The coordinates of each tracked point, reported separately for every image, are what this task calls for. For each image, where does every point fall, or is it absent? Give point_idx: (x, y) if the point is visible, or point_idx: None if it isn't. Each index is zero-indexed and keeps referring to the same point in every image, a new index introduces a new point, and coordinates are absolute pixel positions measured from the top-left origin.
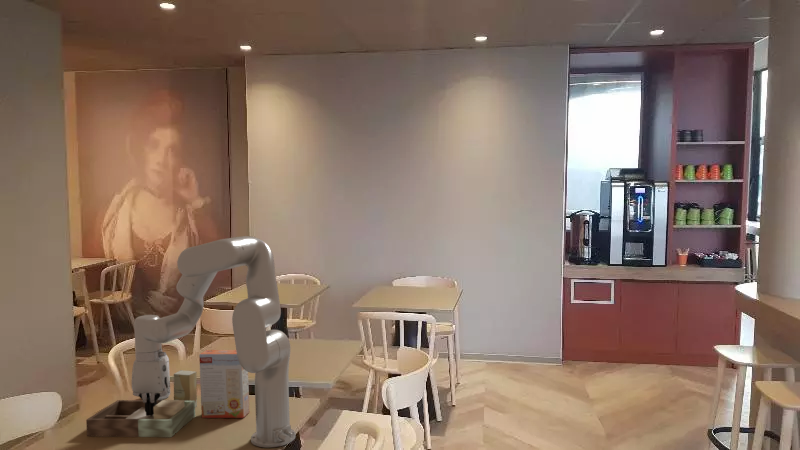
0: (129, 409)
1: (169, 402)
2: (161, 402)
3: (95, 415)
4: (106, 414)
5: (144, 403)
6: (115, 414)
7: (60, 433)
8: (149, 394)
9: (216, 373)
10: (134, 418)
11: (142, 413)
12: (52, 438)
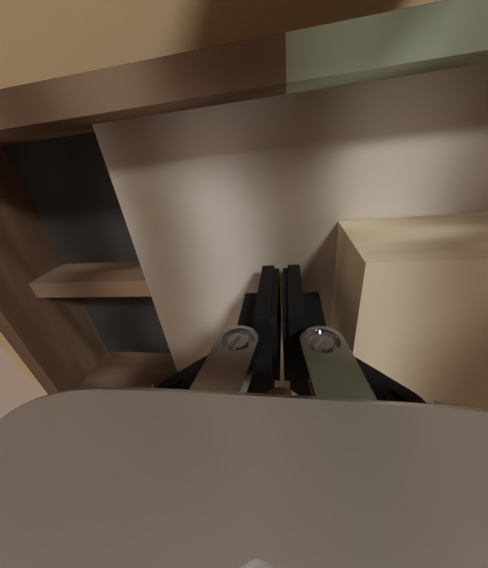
0: (23, 138)
1: (474, 325)
2: (379, 327)
3: (44, 376)
4: (25, 288)
5: (94, 118)
6: (7, 193)
7: (3, 337)
8: (246, 386)
9: None
10: (205, 318)
11: (195, 246)
12: (25, 366)
